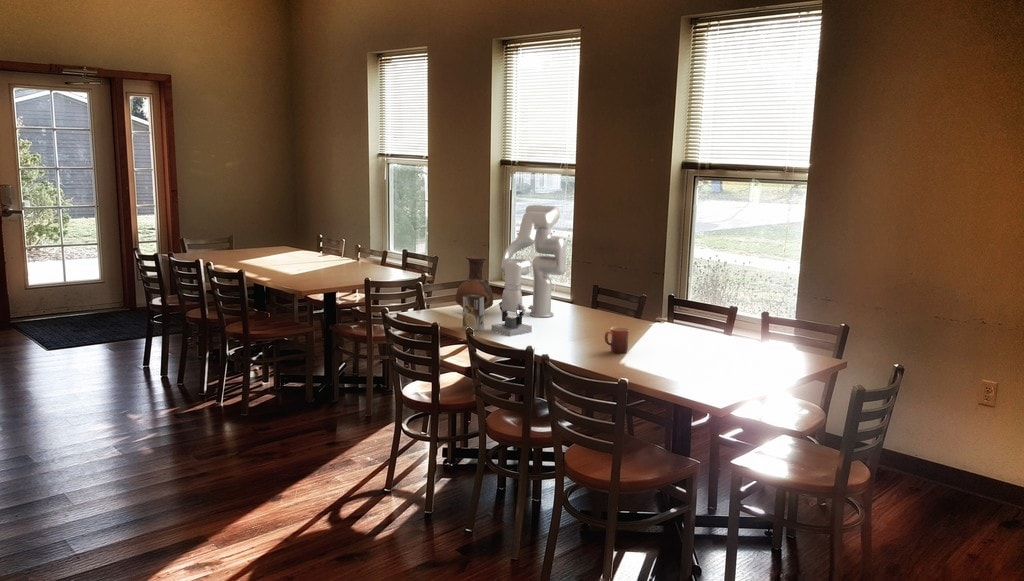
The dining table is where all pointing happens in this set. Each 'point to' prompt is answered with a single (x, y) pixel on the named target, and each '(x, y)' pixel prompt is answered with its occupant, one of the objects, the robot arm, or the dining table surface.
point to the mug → (618, 339)
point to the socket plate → (511, 329)
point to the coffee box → (473, 312)
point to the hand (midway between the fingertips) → (511, 322)
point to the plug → (510, 321)
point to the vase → (475, 283)
